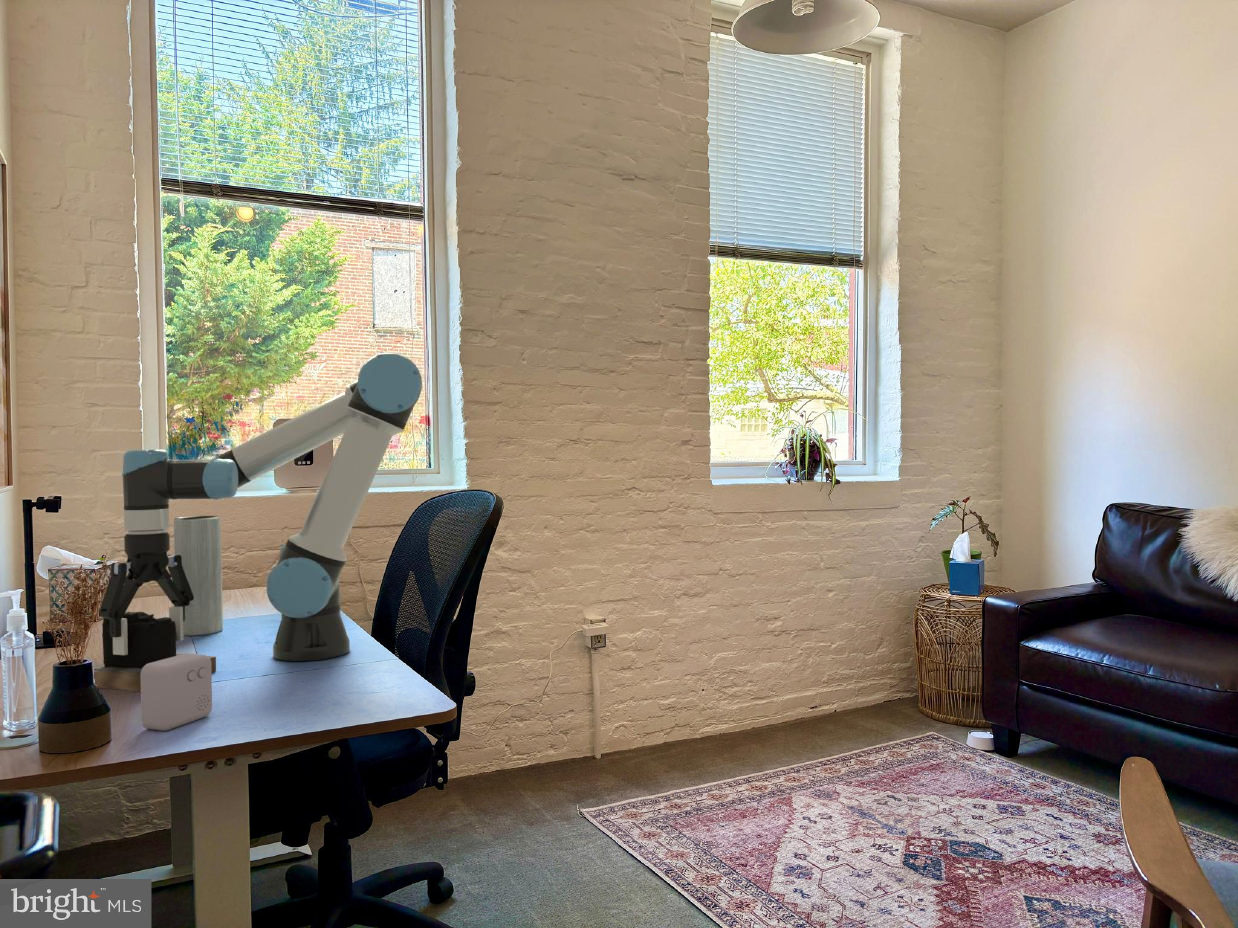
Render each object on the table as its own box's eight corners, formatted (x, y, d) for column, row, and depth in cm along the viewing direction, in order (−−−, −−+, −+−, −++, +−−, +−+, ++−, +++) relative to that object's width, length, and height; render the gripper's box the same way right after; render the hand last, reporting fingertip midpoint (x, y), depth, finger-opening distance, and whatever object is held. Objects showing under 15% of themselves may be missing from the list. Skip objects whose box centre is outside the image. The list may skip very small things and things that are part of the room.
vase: (206, 636, 207) (203, 518, 206) (166, 635, 208) (164, 518, 208) (231, 627, 217) (229, 515, 216) (193, 627, 218) (191, 515, 218)
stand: (216, 670, 174) (215, 655, 174) (146, 692, 159) (146, 675, 159) (152, 665, 179) (152, 650, 179) (80, 685, 164) (79, 668, 164)
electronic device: (164, 734, 135) (163, 667, 135) (141, 730, 137) (140, 665, 137) (216, 715, 144) (215, 653, 144) (194, 712, 146) (193, 651, 146)
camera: (202, 654, 173) (200, 603, 172) (163, 670, 162) (160, 615, 162) (139, 652, 175) (136, 601, 175) (97, 667, 165) (94, 613, 164)
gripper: (183, 526, 181) (185, 632, 182) (73, 537, 159) (76, 659, 159) (212, 526, 179) (214, 635, 179) (105, 538, 156) (107, 662, 156)
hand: (149, 647), depth 169 cm, fingers open, 12 cm apart
